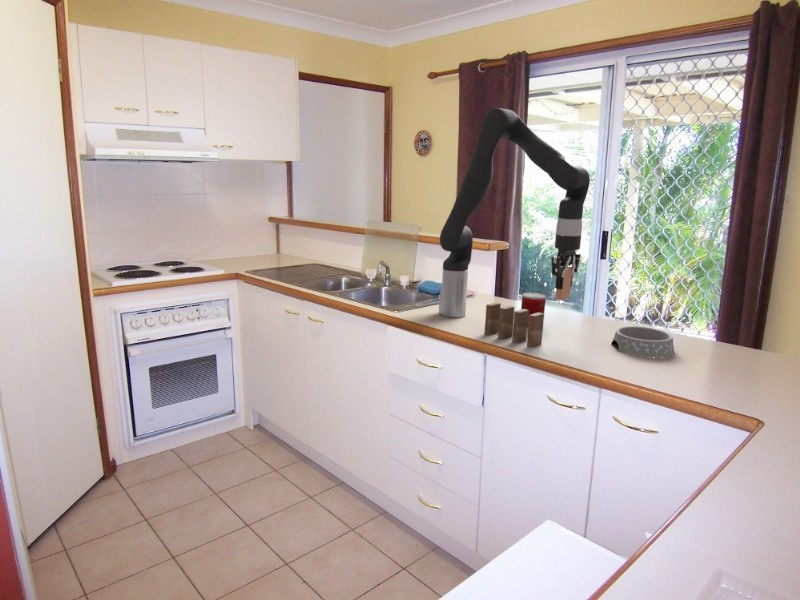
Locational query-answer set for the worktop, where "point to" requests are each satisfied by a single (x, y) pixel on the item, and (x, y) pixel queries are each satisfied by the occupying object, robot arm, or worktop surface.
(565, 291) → the domino
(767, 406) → the worktop surface
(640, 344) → the dog bowl
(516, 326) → the domino
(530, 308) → the canned food
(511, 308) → the domino
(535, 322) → the domino
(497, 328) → the domino
